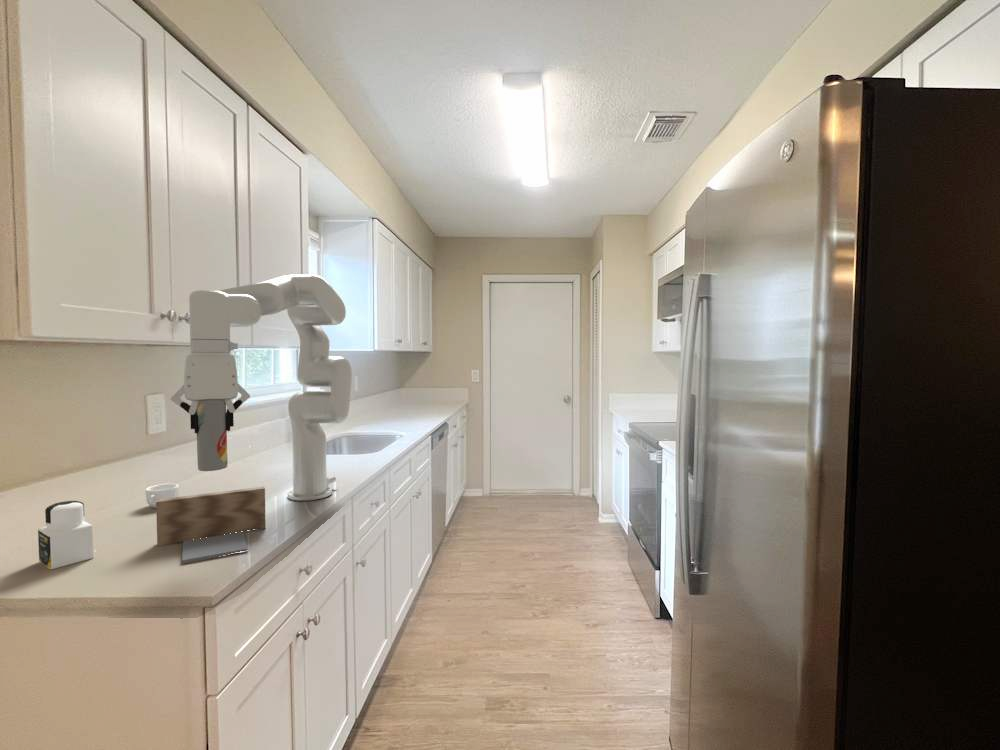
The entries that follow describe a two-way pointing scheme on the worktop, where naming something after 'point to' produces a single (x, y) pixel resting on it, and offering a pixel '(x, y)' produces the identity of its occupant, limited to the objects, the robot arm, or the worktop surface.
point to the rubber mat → (213, 547)
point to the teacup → (161, 493)
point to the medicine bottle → (65, 535)
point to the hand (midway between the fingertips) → (212, 430)
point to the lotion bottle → (211, 435)
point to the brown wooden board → (209, 515)
